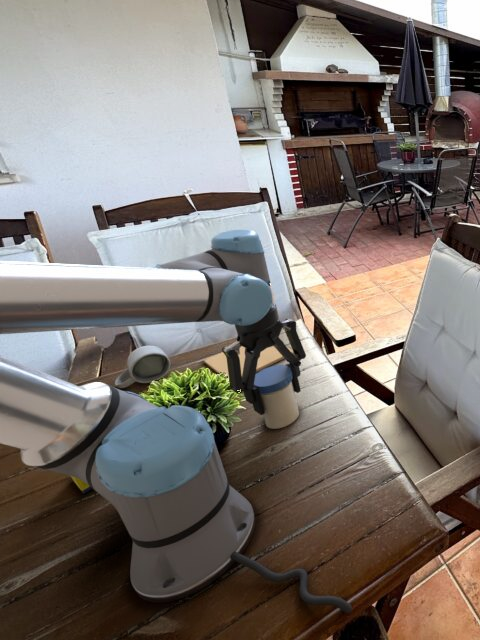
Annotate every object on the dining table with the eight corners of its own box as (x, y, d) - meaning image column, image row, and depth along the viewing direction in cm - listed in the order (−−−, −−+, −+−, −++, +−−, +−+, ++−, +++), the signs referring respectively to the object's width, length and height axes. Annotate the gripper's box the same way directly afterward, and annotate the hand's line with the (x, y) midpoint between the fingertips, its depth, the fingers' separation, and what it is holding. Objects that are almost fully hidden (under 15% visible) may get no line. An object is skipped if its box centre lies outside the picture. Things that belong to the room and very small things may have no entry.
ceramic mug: (166, 361, 108) (157, 337, 105) (175, 373, 103) (165, 348, 100) (114, 382, 100) (102, 356, 97) (120, 395, 95) (108, 369, 92)
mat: (294, 353, 112) (294, 350, 111) (231, 384, 99) (231, 381, 99) (265, 336, 120) (265, 333, 120) (204, 362, 107) (203, 360, 107)
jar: (305, 414, 89) (296, 375, 86) (275, 433, 84) (264, 393, 80) (289, 403, 93) (280, 365, 89) (259, 420, 88) (248, 381, 84)
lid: (265, 398, 80) (263, 391, 80) (246, 385, 84) (244, 378, 83) (300, 378, 86) (298, 371, 86) (280, 367, 90) (279, 360, 89)
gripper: (205, 336, 69) (238, 438, 77) (312, 292, 85) (329, 380, 93) (185, 325, 72) (218, 423, 81) (291, 284, 89) (310, 370, 97)
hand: (278, 400), depth 87 cm, fingers closed on lid, 7 cm apart
